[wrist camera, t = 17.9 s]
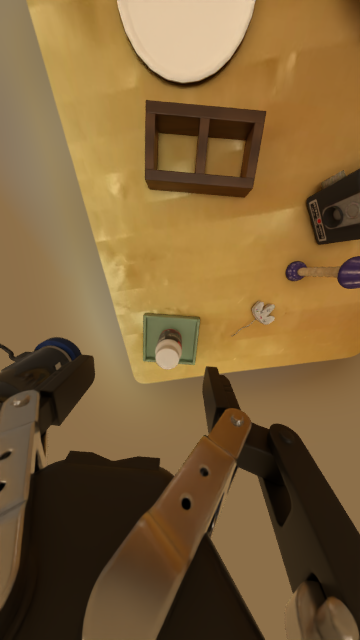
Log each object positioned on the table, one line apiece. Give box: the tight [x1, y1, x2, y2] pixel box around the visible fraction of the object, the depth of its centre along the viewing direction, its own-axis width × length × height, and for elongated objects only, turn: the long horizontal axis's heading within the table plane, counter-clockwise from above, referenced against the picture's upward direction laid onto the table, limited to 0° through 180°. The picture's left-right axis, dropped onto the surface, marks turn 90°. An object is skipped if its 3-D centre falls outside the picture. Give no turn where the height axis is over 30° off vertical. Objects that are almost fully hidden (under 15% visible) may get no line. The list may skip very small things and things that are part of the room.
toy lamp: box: [286, 256, 360, 289], centre depth 29 cm, size 5×5×17 cm
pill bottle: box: [155, 329, 182, 369], centre depth 37 cm, size 6×6×10 cm
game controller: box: [233, 301, 275, 336], centre depth 40 cm, size 6×12×3 cm, turn 150°
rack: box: [145, 100, 266, 197], centre depth 29 cm, size 10×19×4 cm, turn 86°
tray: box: [143, 313, 200, 365], centre depth 42 cm, size 13×12×2 cm
